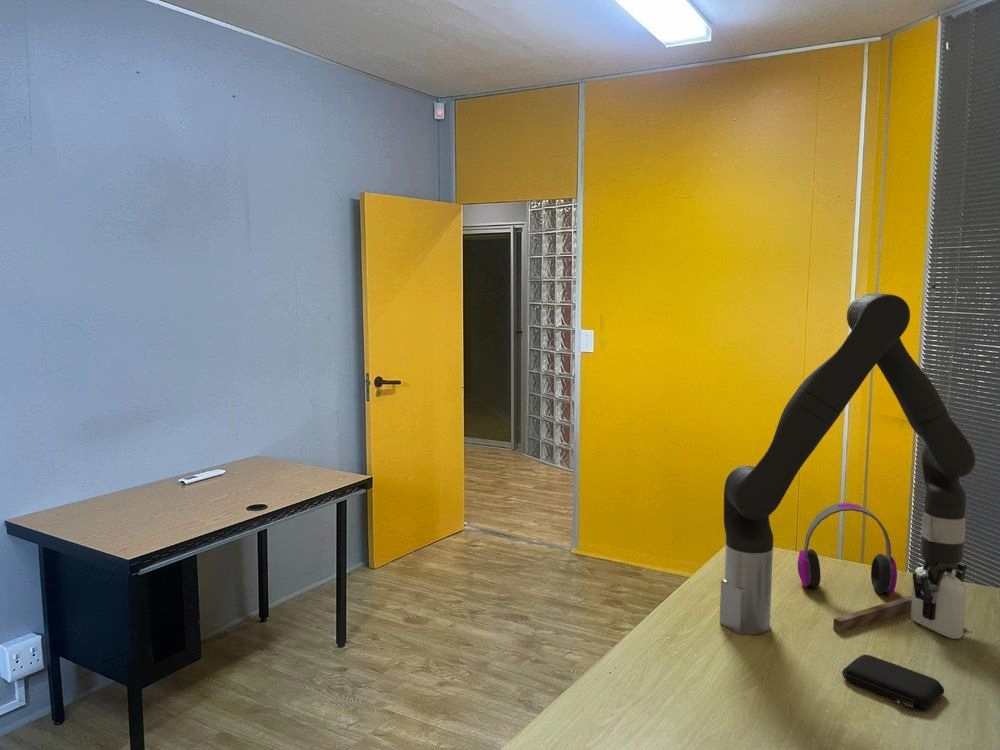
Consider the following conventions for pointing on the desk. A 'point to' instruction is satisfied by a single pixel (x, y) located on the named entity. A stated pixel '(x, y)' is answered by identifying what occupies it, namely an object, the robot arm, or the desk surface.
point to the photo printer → (943, 607)
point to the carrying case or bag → (893, 682)
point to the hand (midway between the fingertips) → (936, 615)
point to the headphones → (881, 565)
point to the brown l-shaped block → (872, 614)
